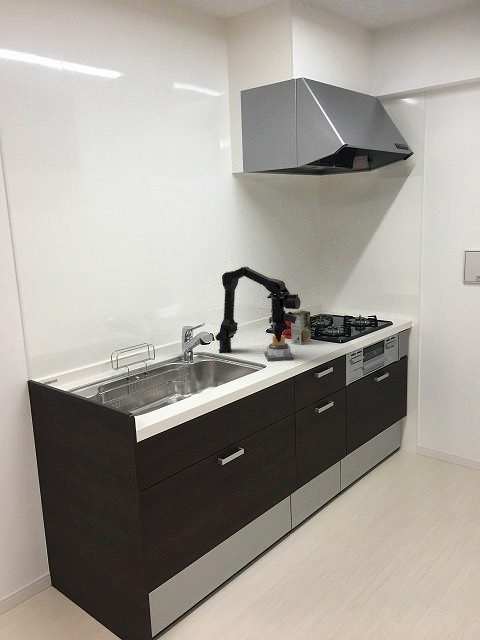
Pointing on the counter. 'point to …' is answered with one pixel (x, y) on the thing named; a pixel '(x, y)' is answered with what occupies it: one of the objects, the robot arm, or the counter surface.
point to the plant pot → (288, 331)
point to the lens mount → (278, 354)
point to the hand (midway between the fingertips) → (278, 341)
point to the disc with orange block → (278, 343)
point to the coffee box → (301, 328)
